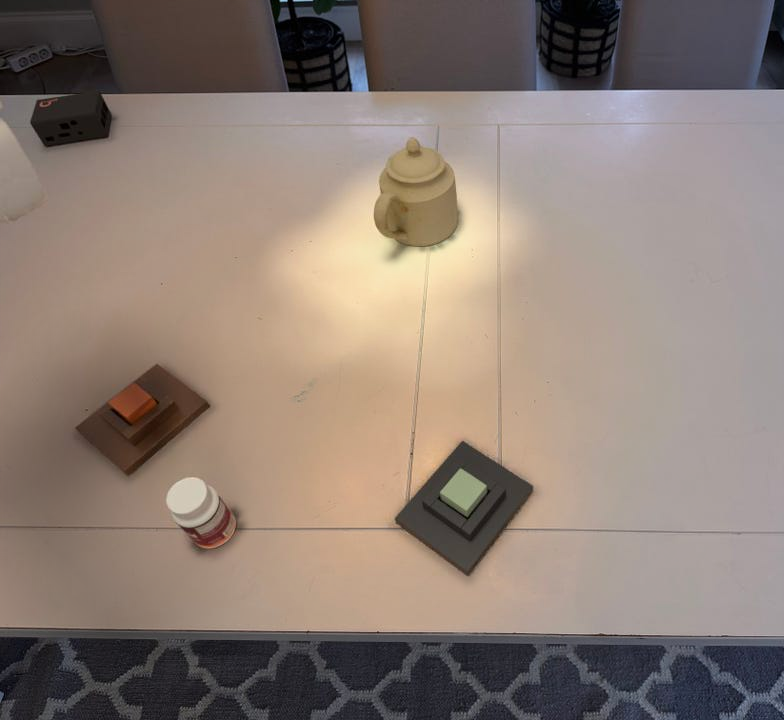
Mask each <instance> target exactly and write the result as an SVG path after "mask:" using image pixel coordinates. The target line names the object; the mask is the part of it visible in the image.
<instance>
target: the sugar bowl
mask: <svg viewBox="0 0 784 720" xmlns="http://www.w3.org/2000/svg"><path fill="white" fill-rule="evenodd" d="M378 184H379V191H380V192H379V193H380V195H379V196H378V197H377V199H376V201H375V204H374V208H373V220H374V225H375V227H376V229H377V230H378V232H379V233H380V234H381V235H382V236H384V237H386V238H388V239H392V240H396V241H397V242H399V243H401V244H404V245H407V246H413V247H427V246H432V245H436V244H439V243H441V242H443V241H445V240H447V239H448V238H449V237H450V236H452V235H453V233H454V232H455V231H456V229H457V227H458V222H459V216H458V215H459V214H458V196H457V184H456V175H455V171H454V169H453V167H452V166H451V165H450V164H449V163H448V162H446V160H445V158H444V155H442V153H440V152H439V151H438V150H436V149H434V148H430V147H427V146H423V145H421V144H420V141H419V140H418V139H417V138H415V137H414V136H411V137H409V139H408V140H407V141H406V145H405V147H404V148H402V149H400V150H398V151H396V152H394V153H393V154H392V155H391V156H390V157H388V159H387V161H386V164H385V168H384V169H383V170H382V171H381V172H380V175H379V180H378Z"/></svg>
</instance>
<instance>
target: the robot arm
mask: <svg viewBox="0 0 784 720" xmlns="http://www.w3.org/2000/svg"><path fill="white" fill-rule="evenodd" d="M3 107H4V104H3V101H2V99H0V110H1V109H3ZM47 200H48V195H47V190H46V187H45V185H44V183H43V181H42V179H41V177H40V175H39V173H38V172H37V170H36V169H35V166H34V165H33V163H32V162H31V160H30V158H29V156H28V154H27V153H26V151H25V149H24V148H23V146H22V144H21V143H20V141H19V140H18V138H17V136H16V135H15V133H14V131H13V130H12V129H11V127H10V126H9V125H8V124H7V122H6V120H5V119H4V117H2V116H1V115H0V222H1V223H3V224H8V223H9V222H16V221H18V220H20V219H22V218H23V217H26V216H27V215H29V214H31V213H32V212H34V211H35V210H37V209H39V208H40V207H42V206H43V205H45V204H46V203H47Z"/></svg>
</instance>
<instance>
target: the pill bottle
mask: <svg viewBox="0 0 784 720" xmlns="http://www.w3.org/2000/svg"><path fill="white" fill-rule="evenodd" d="M165 502H166V507H167V508H168V510H169V511H170V513H171V517H172V519H173V521H174V522H175V523H176V524H177V526H178V527H180V528H181V529H182V530H183V532H184V533H185V534H186V535H187V536H188V537H189V538H190V539H191V541H193V542H194V544H196V545H197V546H198V547H200V548H203V549H215V548H218V547H221V546H222V545H224V544H225V543H226V542H228V541H229V540H230V539H231V537H232V536H233V534H234V532H235V530H236V526H237V522H236V521H237V520H236V517H235V515H234V513H233V512H232V511H231V509H230V508H229V507H228V505H227V504H226V502H225V501H224V499H223V498H222V497H221V495H219V493H218V492H217V491H216V489H214V488H213V487H212V486H210V485H208V484H206V483H205V482H204V481H203V480H202V479H201V478H198V477H195V476H190V477H184V478H182V479H180V480H178V481H176V482H175V483H174V484H173V485H172V486H171V487H170V489H168V492H167V494H166V498H165Z"/></svg>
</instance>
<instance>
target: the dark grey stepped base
mask: <svg viewBox="0 0 784 720" xmlns="http://www.w3.org/2000/svg"><path fill="white" fill-rule="evenodd" d="M460 468H461V469H463V470H464V471H466V472H467V473H469V474H470V475H472V476H473V477H475V478H476V479H478V480H479V481H481V482H482V483H484V484H485V485H487V494H486V495H485V496H484V498H483V499H482V500H481V501H480V502H479V504H478V505H477V506H476V507H475V509H474V510H473V511H472V512H471V514H470V515H469V516H468V517H466V516H464V515H463V514H461V513H460V512H458V511H457V510H456V509H454V508H453V507H451V506H450V505H448V504H447V503H445V502H444V501H443V500H441V496H440V492H441V490H442V489H443V488H444V487H445V486H446V484H447V483H448V482H449V481H450V480H451V479H452V477H453V476H454V475H455V474H456V473H457V472H458V470H459V469H460ZM533 492H534V485H533V484H531V483H530V482H528V481H526V480H525V479H523V478H522V477H520V476H518V475H517V474H515V473H514V472H512V471H510V470H509V469H507V468H506V467H504V466H503V465H501V464H500V463H499V462H497V461H495V460H494V459H492V458H491V457H489V456H487V455H486V454H484V453H483V452H481V451H479V450H478V449H476V448H475V447H473V446H472V445H470V444H469V443H467V442H466V441H464V440H461V441H460V443H458V445H457V446H456V447H455V448H454V449H453V450H452V451H451V453H450V454H449V455H448V456H447V457H446V459H444V461H443V462H442V463H441V464H440V465H439V467H437V469H436V470H435V471H434V473H432V475H431V476H430V477H429V478H428V479H427V480H426V482H425V483H424V484H423V485H422V486H421V487H420V489H419V490H418V491H417V492H416V493H415V494H414V495H413V497H411V499H410V500H409V501H408V502H407V503H406V504H405V505H404V507H403V508H402V509H401V510H400V512H399V513H397V515H396V516H395V517H394V521H395V524H396V525H398V526H399V527H401V528H402V529H403V530H405V531H406V532H407V533H409V535H412V536H413V537H414V538H415V539H417V540H419V541H420V542H421V543H422V544H424V545H425V546H426V547H428V548H429V549H430V550H432V551H433V552H434V553H436V554H437V555H438V556H440V557H441V558H443V559H444V560H446V561H447V562H448V563H450V564H451V565H453V566H454V567H455V568H457V570H459V571H460V572H462V573H463V574H465V575H466V576H468V577H469V576H470V574H471V573H472V572H473V570H475V568H476V567H477V565H478V564H479V563H480V561H481V560H482V559H483V558H484V556H485V555H486V553H487V552H488V551H489V549H490V548H491V547H492V546H493V545H494V543H495V541H497V539H498V538H499V536H500V535H501V534H502V533H503V532H504V530H505V529H506V528H507V527H508V525H509V524H510V522H511V521H512V520H513V518H515V515H517V513H518V512H519V510H520V509H521V508H522V506H524V504H525V502H527V500H528V499H529V497H530V496H531V495H532V493H533Z"/></svg>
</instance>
